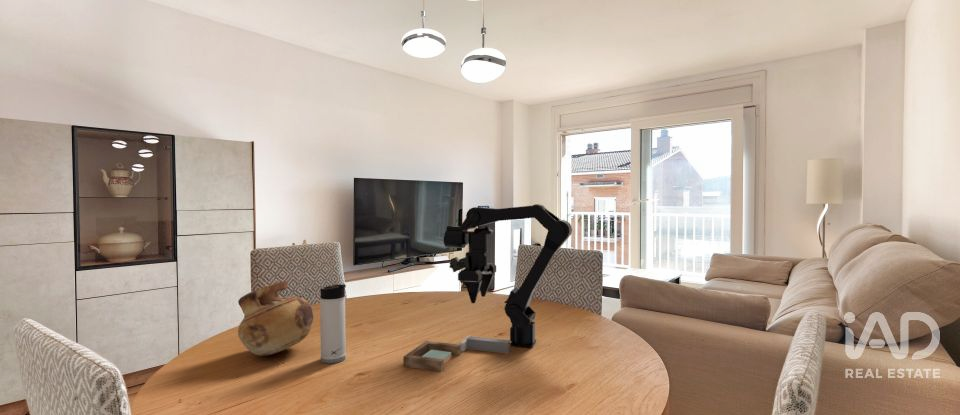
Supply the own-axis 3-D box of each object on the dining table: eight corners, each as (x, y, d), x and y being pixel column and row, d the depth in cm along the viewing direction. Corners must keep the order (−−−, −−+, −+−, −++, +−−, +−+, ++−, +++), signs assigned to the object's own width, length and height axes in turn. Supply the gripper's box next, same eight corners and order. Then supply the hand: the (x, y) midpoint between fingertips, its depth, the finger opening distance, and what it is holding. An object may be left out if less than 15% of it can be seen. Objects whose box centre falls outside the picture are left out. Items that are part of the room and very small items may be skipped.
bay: (460, 353, 117) (460, 344, 117) (441, 371, 105) (441, 361, 105) (426, 349, 121) (426, 340, 121) (403, 366, 109) (403, 356, 109)
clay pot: (271, 340, 130) (270, 274, 130) (327, 344, 126) (326, 276, 126) (221, 363, 111) (220, 287, 111) (284, 369, 107) (283, 289, 107)
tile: (451, 359, 114) (451, 352, 114) (441, 367, 109) (441, 359, 109) (431, 356, 116) (431, 349, 116) (420, 364, 111) (420, 357, 111)
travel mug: (339, 364, 110) (338, 287, 110) (315, 362, 111) (315, 286, 111) (351, 356, 116) (350, 282, 116) (329, 354, 117) (328, 281, 117)
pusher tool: (511, 348, 122) (511, 337, 122) (505, 356, 115) (505, 345, 115) (468, 343, 126) (468, 333, 126) (459, 351, 120) (459, 340, 120)
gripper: (464, 244, 141) (464, 292, 141) (441, 251, 123) (441, 304, 124) (496, 245, 137) (496, 294, 138) (477, 252, 120) (477, 307, 120)
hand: (478, 299), depth 130 cm, fingers open, 9 cm apart
